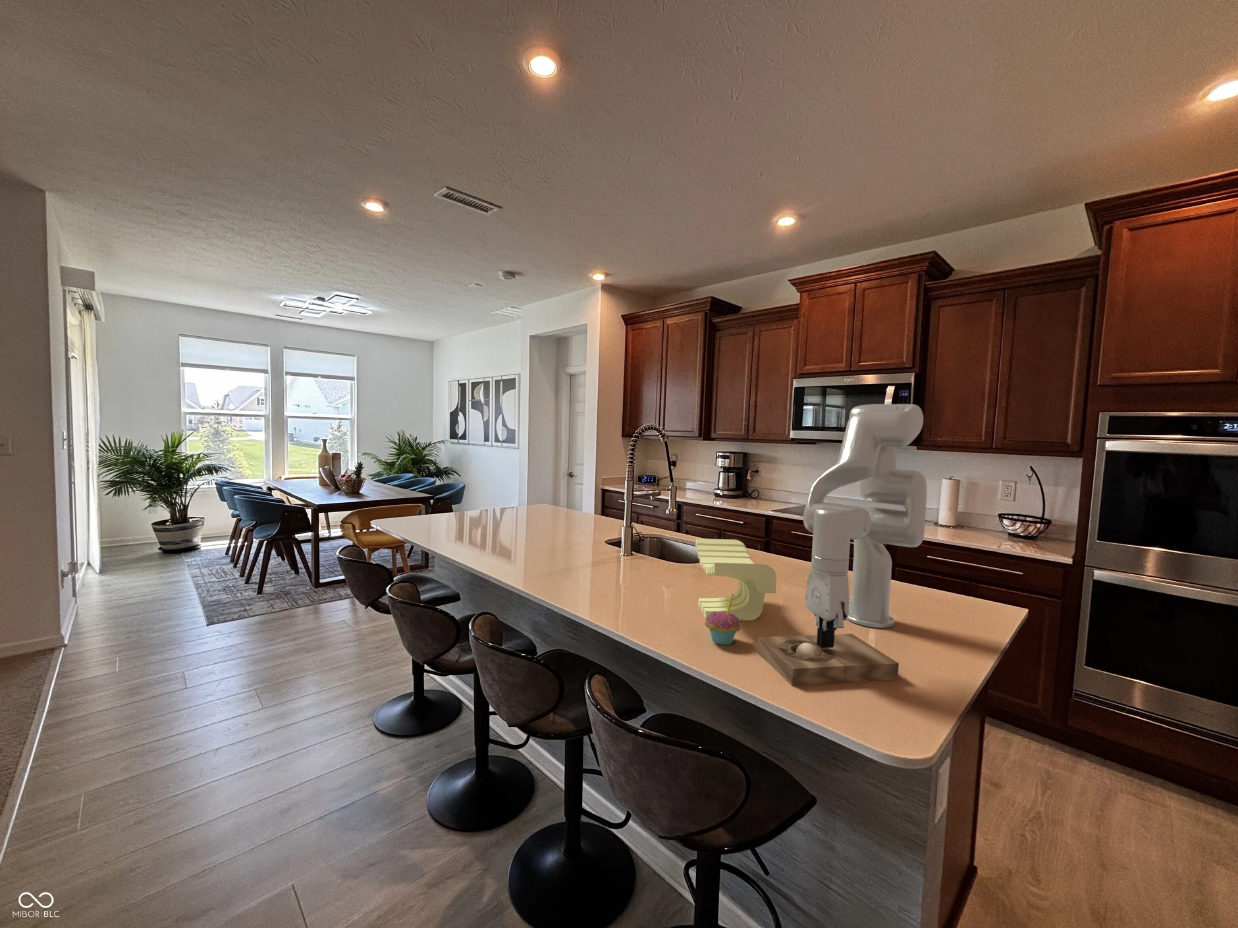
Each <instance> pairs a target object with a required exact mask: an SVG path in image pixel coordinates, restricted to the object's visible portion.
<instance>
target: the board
mask: <svg viewBox="0 0 1238 928" xmlns="http://www.w3.org/2000/svg"><path fill="white" fill-rule="evenodd" d="M802 643H811V644H813V645H815V646H816V647H817V649H818V650H819V652H820V656H818V657H807V656H801V655H799V654H796V650H797V648H798V646H799V645H800V644H802ZM757 653H758V654H759V655H760V656H761V657H762V658H763V659H764V660H765V661H766V662H767V663H768V664H769V665H770V666H771V667H772V669H774V670H775V671H776V672H778V674H780V676H782V677H783V678H784V680H786V681H787V682H788V683H789V684H790V685H791V686H805V685H807V686H809V685H822V684H842V683H843V684H845V683H859V682H878V681H879V682H880V681H894V680H895V681H896V680H898V679H899V667H900V666H899V665H900V663H899V662H897V661H896V660H894V659H893V658H891V657H890V656H888V655H886V654H884V653H883V652H881V651H880V650H879V649H877V648H875V647H874V646H872V645H870V644H869V643H867V642H866V641H865V640H862V639H861V638H859V637H858V636H856V635H855V634H853V633H835V636H834V647H833V648H821V647H820V646H818V645H817V634H811V635H808V634H807V635H788V636H785V635H784V636H783V635H782V636H762V637H761V636H760V637H757Z"/></svg>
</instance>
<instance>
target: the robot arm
mask: <svg viewBox="0 0 1238 928" xmlns="http://www.w3.org/2000/svg"><path fill="white" fill-rule="evenodd" d="M848 418H849V419H848V421H847V423H846V428H845V431H844V435H843V438H842V443H841V446H840V450H839V454H838V459H837V462H836V463H835V464H834V465H832V466H831V467H829V468H828V469H826V471H824V472H823V473H822V474H821V475H820V476H819V477H818V478H817V479H816V480H815V481H814V483H813V484H812V486H811V487H810V490H809V493H808V494H807V499H806V502H805V506H804V511H803V514H802V515H803V517H802V519H803V526H804V527H805V529H806V530H807V531H808V532H810V533H812V548H811V550H812V551H811V566H810V568H809V572H808V576H807V582H806V583H807V584H806V590H805V599H804V600H805V601H804V602H805V603H804V606H805V607H806V608H807V609H808V610H809V611H810V612H811V613H812V614H813V615H814V616H815V623H816V627H817V628H816V629H817V630H816V635H817V645H818V646H820V647H821V648H833V647H834V636H835V634H836V633H835V632H836V631H837V629H844V628H845V625H844V624H845V623H844V621H846V620H847V621H849V622H852V623H854V624H857V625H860V626H864V627H871V628H875V629H877V628H881V629H886V628H891V627H893V626H895V618H894V617H893V616H891V615H889V614H890V613H889V611H890V599H891V597H890V595H891V581H892V567H893V561H892V556H891V554H890V552H889V551H888V550H887V549H886V547H885V545H892V546H899V547H906V548H917V547H919V546H920V545H921V544H922V543H923V541H924V537H925V531H926V530H925V529H926V528H925V527H926V515H927V514H926V510H927V497H928V496H927V495H928V492H927V490H928V488H927V487H928V486H927V480H926V476H925V475H924V474H923V473H922V472H920V471H917V470H911V469H898V468H897V455H898V452H897V449H896V448H898V447H899V448H901V447H902V448H904V447H907V446H908V445H910V444H911V443H912V442H913V441H914V440H915V439H916V438H917V436H918V435H919V434H920V432H921V431H922V428H923V426H924V414H923V411H922V408H921V407H920V406H919V405H917V404H913V403H912V404H911V403H910V404H909V403H896V404H895V403H878V404H877V403H874V404H873V403H872V404H861V405H857V406H854V407H853V408H851V410H850V412H849V417H848ZM857 482H860V486H859V489H860V490H859V491H860V496H861V498H863V499H864V500H865V501H867V502H871V503H880V504H885V505H886V504H887V505H896V506H897V505H898V506H902V507H904V510H902V509H901V510H900V509H894V508H885V507H877V506H876V507H875V506H865V507H861V506H858V505H852V504H850V505H849V504H843V503H835V502H826V501H825V499H826V497H828V495H829V494H830V493H832V492H833V491H835V490H837V489H839V488H842V487H844V486H848V485H851V484H855V483H857ZM824 501H825V502H824ZM851 540H853V564H852V577H851V578H852V583H851V596H850V585H849V575H848V574H849V564H850V547H851Z"/></svg>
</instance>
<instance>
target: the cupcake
mask: <svg viewBox="0 0 1238 928" xmlns="http://www.w3.org/2000/svg"><path fill="white" fill-rule="evenodd" d="M732 595H734V593H733V592H732V593H731V595H730V599H729V604H728V609H727V612H726V611H720V612H713V613H711V614H709V615H708V616H707V617H706V618H705V621H704V626H705V627H706V628H708V629H709V633H710V636H711V640H712V642H713V643H716V644H718V645H724V646H726V645H730V644H732V643H733V640H734V638H735V635H736V633H737V632H739V631H740V629H741V627H742V625H741V622H742V620H740V619H739V618H737V617H736V616H735V615H733V614H732V613H730V608H731V603H732V598H733V596H732Z"/></svg>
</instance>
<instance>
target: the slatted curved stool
mask: <svg viewBox="0 0 1238 928" xmlns="http://www.w3.org/2000/svg"><path fill="white" fill-rule="evenodd" d="M695 549H696V553H697V554H698V556H697V558H698V560H699V564H700V566H701V567H702V569H703V571H705V573H706V575H707V576H714V577H715V576H716V577H718V576H719V577H728V578H732V579H736V580H737V581H738V590H737V591H736V592H735V593H733V595H732V594H731V595H732V596H733V598H732V603H731V608H730V613H732V614H733V615H735V616H736V617H737V618H739V619H740V621H754V620H756V619H758V618H759V617H760V616H761V614H762V612H763V610H764V603H765V602H764V601H765V596H766V595H765V594H776V592H777V574H776V572H775V570H774V568H773V567H771V566H770V564H766V563H755V562H753V560H752V556H750V552H749V551H748V548H747V547H746V545H745V544H744V543H743V542H742V541H740V540H738V539H727V538H726V539H724V538H720V539H719V538H718V539H717V538H695ZM731 595H730V596H731ZM730 596H725V597H724V596H723V597H714V598H712V597H710V598H707V597H706V598H704V597H702V598H701V597H699V598H698V602H697V604H698V607H699V608H700V610H701V612H702V614H703V616H704V618H705V619H706V617H707V616H708V615H709V614H711V613H713V612H720V611H726V612H727V609H728V604H729V599H730Z"/></svg>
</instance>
